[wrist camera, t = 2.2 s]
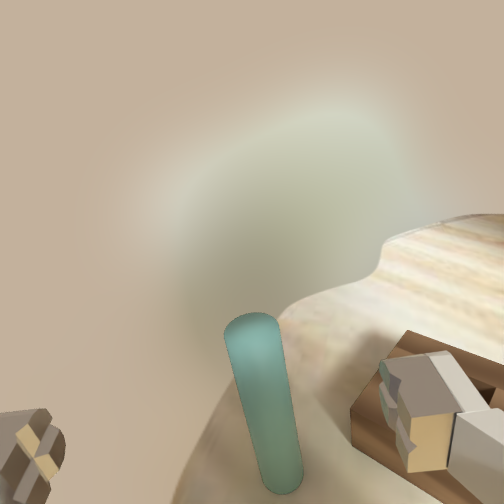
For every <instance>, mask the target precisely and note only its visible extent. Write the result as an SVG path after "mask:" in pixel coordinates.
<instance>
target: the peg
mask: <svg viewBox="0 0 504 504" xmlns="http://www.w3.org/2000/svg"><path fill="white" fill-rule="evenodd" d="M224 339H225V343H226V346H227V351H228V354H229V358H230V362H231V365H232V369H233V373H234V376H235V380H236V384H237V388H238V391H239V395H240V399H241V402H242V406H243V410H244V413H245V417H246V421H247V425H248V428H249V432H250V436H251V439H252V443H253V447H254V451H255V454H256V458H257V462H258V465H259V469H260V473H261V476H262V480H263V483H264V484H265V486H266V487H267V488H268V489H269V490H270V491H272V492H274V493H276V494H288V493H290V492H292V491H294V490H295V489H296V488H297V487H298V486H299V485H300V483H301V481H302V479H303V465H302V459H301V453H300V447H299V441H298V435H297V430H296V424H295V418H294V412H293V406H292V400H291V394H290V388H289V382H288V376H287V370H286V365H285V359H284V353H283V347H282V341H281V335H280V329H279V324H278V322H277V321H276V319H275V318H273V317H272V316H270V315H268V314H265V313H248V314H245V315H241V316H239V317H237V318H235V319H234V320H233V321H231V322H230V323H229V324H228V326H227V327H226V329H225V332H224Z"/></svg>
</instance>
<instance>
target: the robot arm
mask: <svg viewBox="0 0 504 504" xmlns="http://www.w3.org/2000/svg"><path fill="white" fill-rule="evenodd" d="M379 372H380V375H381V377H382V379H383V381H382V383H381V384H380V385H379V396H380V402H381V407H382V410H383V414H384V417H385V419H386V422H387V424H388V426H389V427H390V428H391V429H392V430H394V431H395V432H396V447H397V449H398V451H399V454H400V456H401V459H402V461H403V463H404V466H405V468H406V471H407V473H413V472H423V471H433V470H443V469H448V470H447V471H448V472H449V473H450V474H451V475H452V476H453V477H454V478H455V479H456V480H458V481H459V482H460V483H461V484H462V485H463V486H464V487H465V488H466V489H468V490H469V491H470V492H471V493H472V494H473V495H474V496H475V497H476V498H478V499H479V500H480V501H481V502H482V503H483V504H504V411H502V410H500V409H499V408H494V409H491V408H490V407H489V406H488V404H487V403H486V402H485V400H484V399H483V397H482V396H481V395H480V393H479V392H478V390H477V389H476V388H475V386H474V385H473V384H472V382H471V381H470V379H469V378H468V377H467V375H466V374H465V372H464V371H463V370H462V368H461V367H460V366H459V364H458V363H457V361H456V360H455V359H454V357H453V356H452V355H451V353H449V352H448V351H446V350H445V351H439V352H432V353H425V354H417V355H411V356H404V357H397V358H391V359H384V360H381V361H380V365H379ZM51 420H52V416H51V415H50V413H49V412H48V411H47V409H32V410H23V411H14V412H5V413H0V504H45V502H46V500H47V498H48V496H49V493H50V491H51V487H50V483H49V480H50V479H51V478H52V477H53V476H54V475H55V474H56V473H57V472H58V471H59V469H60V467H61V465H62V462H63V460H64V455H65V446H66V445H65V439H64V435H63V434H62V432H61V430H60V429H58V428H56V427H54V426H53V425H51V424H50V423H51Z"/></svg>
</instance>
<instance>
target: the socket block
mask: <svg viewBox="0 0 504 504" xmlns="http://www.w3.org/2000/svg"><path fill="white" fill-rule="evenodd" d="M445 350H446V351H448V352H449V353H451V355H452V356H453V357H454V359H455V360H456V361H457V363H458V364H459V366H460V367H461V368H462V370H463V371H464V372H465V374H466V375H467V377H468V378H469V379H470V381H471V382H472V384H473V385H474V386H475V388H476V389H477V390H478V392H479V393H480V395H481V396H482V397H483V399H484V400H485V402H486V403H487V404H488V406H489V407H490V408H491V409H494V408H499V409H500V410H502V411H504V365H502V364H499V363H497V362H494V361H491V360H488V359H486V358H483V357H480V356H477V355H475V354H472V353H469V352H467V351H464V350H461V349H458V348H456V347H453V346H450V345H448V344H445V343H442V342H439V341H437V340H434V339H431V338H428V337H426V336H423V335H420V334H418V333H415V332H412V331H409V330H407V331H406V332H405V334H404V335H403V336H402V338H401V339H400V340H399V342H398V343H397V345H396V346H395V347H394V349H393V350H392V352H391V353H390V354H389V356H388V357H387V358H386V359H391V358H397V357H404V356H411V355H417V354H425V353H432V352H439V351H445ZM382 381H383V379H382V377H381V375H380V372H379V369H378V371H377V372H376V374H375V375H374V376H373V378H372V379H371V380H370V382H369V383H368V385H367V386H366V387H365V389H364V390H363V392H362V393H361V394H360V396H359V397H358V398H357V400H356V401H355V403H354V404H353V405H352V407H351V408H350V417H351V435H352V446H353V447H355V448H357V449H358V450H360V451H361V452H363V453H364V454H366V455H368V456H369V457H371V458H372V459H374V460H376V461H377V462H379V463H380V464H382V465H383V466H385V467H387V468H388V469H390V470H391V471H393V472H395V473H396V474H398V475H399V476H401V477H403V478H404V479H406V480H407V481H409V482H410V483H412V484H414V485H415V486H417V487H418V488H420V489H422V490H423V491H425V492H426V493H428V494H429V495H431V496H433V497H434V498H436V499H437V500H439V501H441V502H442V503H444V504H483V503H482V502H481V501H480V500H479V499H478V498H476V497H475V496H474V495H473V494H472V493H471V492H470V491H469V490H468V489H466V488H465V487H464V486H463V485H462V484H461V483H460V482H459V481H458V480H456V479H455V478H454V477H453V476H452V475H451V474H450V473H449V472H448V471H447V470H448V469H443V470H433V471H423V472H413V473H407V471H406V468H405V466H404V463H403V461H402V459H401V456H400V454H399V451H398V449H397V447H396V432H395V431H394V430H392V429H391V428H390V427H389V426H388V424H387V422H386V419H385V417H384V414H383V410H382V407H381V402H380V396H379V385H380V384H381V383H382Z"/></svg>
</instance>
